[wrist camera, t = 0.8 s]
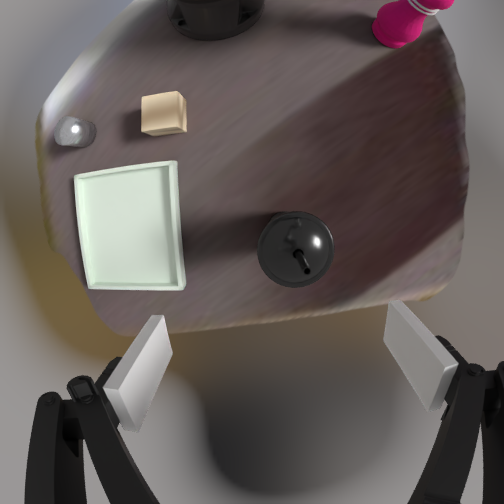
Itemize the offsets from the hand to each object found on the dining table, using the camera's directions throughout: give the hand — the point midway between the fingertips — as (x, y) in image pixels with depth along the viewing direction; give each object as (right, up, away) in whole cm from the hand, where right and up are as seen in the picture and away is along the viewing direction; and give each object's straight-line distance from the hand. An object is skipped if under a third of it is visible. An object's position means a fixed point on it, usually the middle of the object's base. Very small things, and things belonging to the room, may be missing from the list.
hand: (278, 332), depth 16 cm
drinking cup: (+3, +8, +26) cm, 27 cm away
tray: (-20, +8, +26) cm, 34 cm away
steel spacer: (-28, +24, +22) cm, 43 cm away
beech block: (-13, +24, +22) cm, 35 cm away
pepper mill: (+21, +41, +17) cm, 49 cm away
